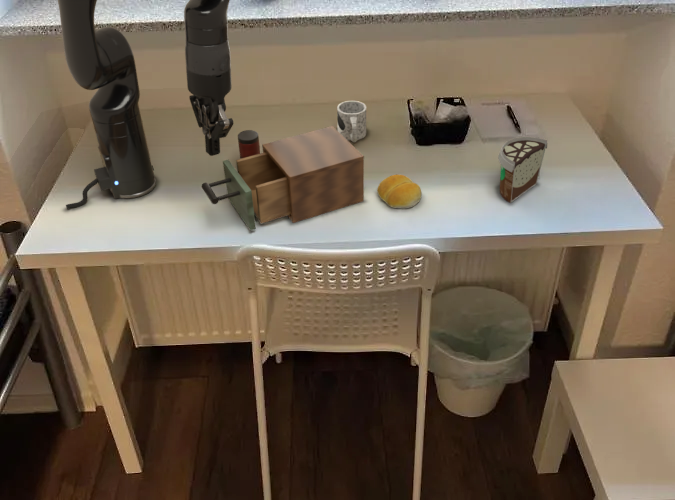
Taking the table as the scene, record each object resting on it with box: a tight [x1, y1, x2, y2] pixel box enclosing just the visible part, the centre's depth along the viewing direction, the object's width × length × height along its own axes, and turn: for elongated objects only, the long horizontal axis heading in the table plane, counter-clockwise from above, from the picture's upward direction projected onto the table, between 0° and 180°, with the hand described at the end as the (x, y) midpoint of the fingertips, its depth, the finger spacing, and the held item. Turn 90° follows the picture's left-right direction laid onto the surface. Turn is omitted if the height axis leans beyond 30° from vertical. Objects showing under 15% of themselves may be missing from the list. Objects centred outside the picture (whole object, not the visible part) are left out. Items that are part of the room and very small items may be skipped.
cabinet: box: [261, 125, 365, 224], centre depth 141 cm, size 16×14×11 cm
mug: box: [336, 100, 367, 143], centre depth 160 cm, size 10×7×7 cm, turn 4°
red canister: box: [237, 129, 261, 159], centre depth 152 cm, size 4×4×7 cm
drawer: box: [201, 152, 291, 231], centre depth 137 cm, size 20×12×9 cm, turn 117°
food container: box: [497, 136, 548, 204], centre depth 142 cm, size 12×6×10 cm, turn 134°
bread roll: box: [376, 173, 422, 209], centre depth 142 cm, size 8×9×4 cm
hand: (213, 153), depth 130 cm, fingers closed
